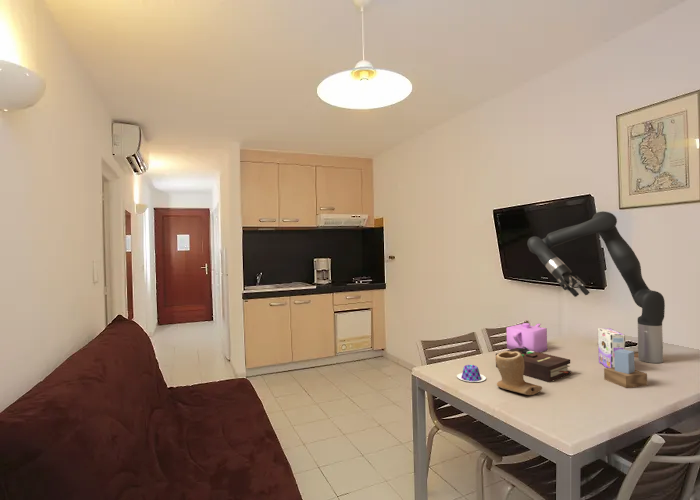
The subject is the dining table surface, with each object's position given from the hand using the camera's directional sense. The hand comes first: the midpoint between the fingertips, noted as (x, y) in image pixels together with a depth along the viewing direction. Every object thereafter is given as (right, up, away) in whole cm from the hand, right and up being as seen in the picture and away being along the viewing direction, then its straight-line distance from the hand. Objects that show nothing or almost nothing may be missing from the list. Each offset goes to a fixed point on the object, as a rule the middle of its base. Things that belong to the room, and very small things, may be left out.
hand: (582, 294), depth 179 cm
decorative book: (-25, -34, -4) cm, 42 cm away
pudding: (-55, -35, -11) cm, 66 cm away
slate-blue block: (+4, -28, -22) cm, 36 cm away
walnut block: (+4, -33, -22) cm, 40 cm away
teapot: (-11, -33, +31) cm, 46 cm away
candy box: (+12, -33, -2) cm, 35 cm away
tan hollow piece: (-42, -35, -27) cm, 61 cm away
